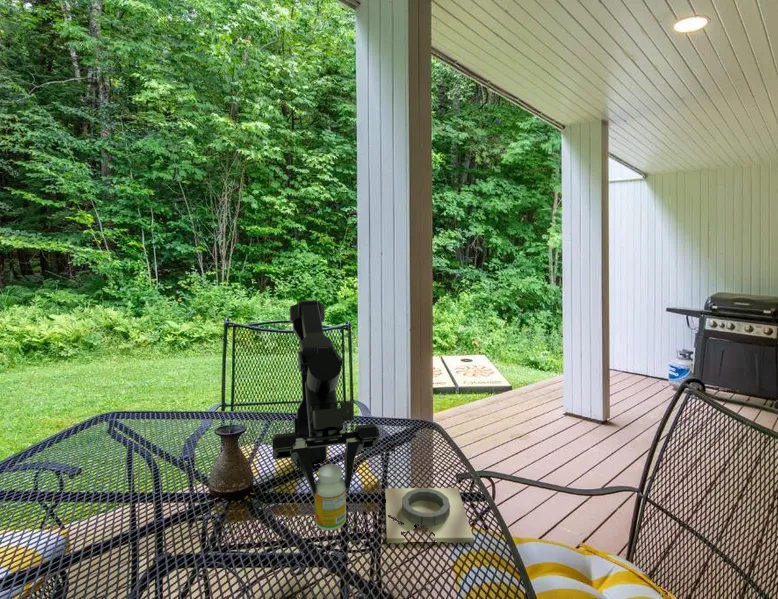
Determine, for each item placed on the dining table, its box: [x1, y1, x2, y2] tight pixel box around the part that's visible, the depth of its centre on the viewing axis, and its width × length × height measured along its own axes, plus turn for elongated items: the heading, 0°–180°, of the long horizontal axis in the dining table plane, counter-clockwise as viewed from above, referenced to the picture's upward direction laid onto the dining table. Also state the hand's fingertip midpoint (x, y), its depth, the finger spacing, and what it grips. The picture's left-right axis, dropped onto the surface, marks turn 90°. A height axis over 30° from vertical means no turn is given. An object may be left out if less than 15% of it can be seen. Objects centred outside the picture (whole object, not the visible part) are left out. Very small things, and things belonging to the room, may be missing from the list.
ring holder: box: [384, 487, 474, 544], centre depth 90 cm, size 16×16×3 cm
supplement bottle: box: [313, 463, 347, 531], centre depth 78 cm, size 5×5×10 cm
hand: (331, 491), depth 76 cm, fingers closed on supplement bottle, 5 cm apart
